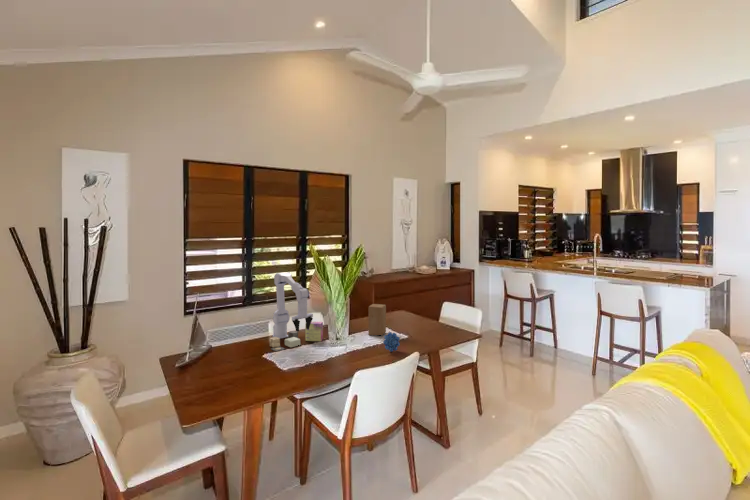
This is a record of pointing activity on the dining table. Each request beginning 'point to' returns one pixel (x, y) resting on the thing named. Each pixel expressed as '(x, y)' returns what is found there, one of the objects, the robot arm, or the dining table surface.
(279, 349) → the tile
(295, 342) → the grey-green pedestal
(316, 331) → the box
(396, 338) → the grapes
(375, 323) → the wooden block
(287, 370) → the dining table surface
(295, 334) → the gray block
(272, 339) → the birch block
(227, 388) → the dining table surface
